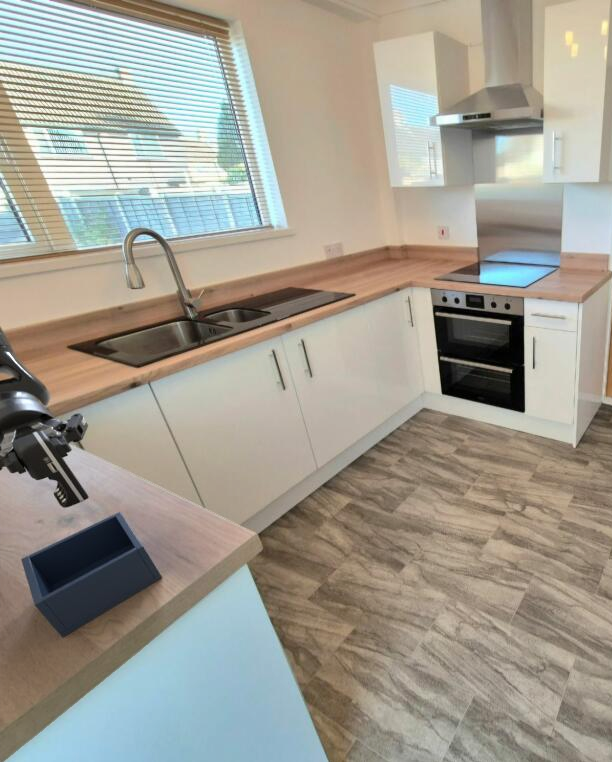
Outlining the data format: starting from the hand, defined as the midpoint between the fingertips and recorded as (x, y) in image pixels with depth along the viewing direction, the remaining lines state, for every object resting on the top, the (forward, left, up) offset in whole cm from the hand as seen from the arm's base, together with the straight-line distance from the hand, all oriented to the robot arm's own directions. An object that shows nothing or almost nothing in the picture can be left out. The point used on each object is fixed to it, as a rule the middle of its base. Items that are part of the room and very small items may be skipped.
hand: (40, 459), depth 62 cm
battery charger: (0, +3, -9) cm, 10 cm away
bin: (-2, -7, -20) cm, 21 cm away
